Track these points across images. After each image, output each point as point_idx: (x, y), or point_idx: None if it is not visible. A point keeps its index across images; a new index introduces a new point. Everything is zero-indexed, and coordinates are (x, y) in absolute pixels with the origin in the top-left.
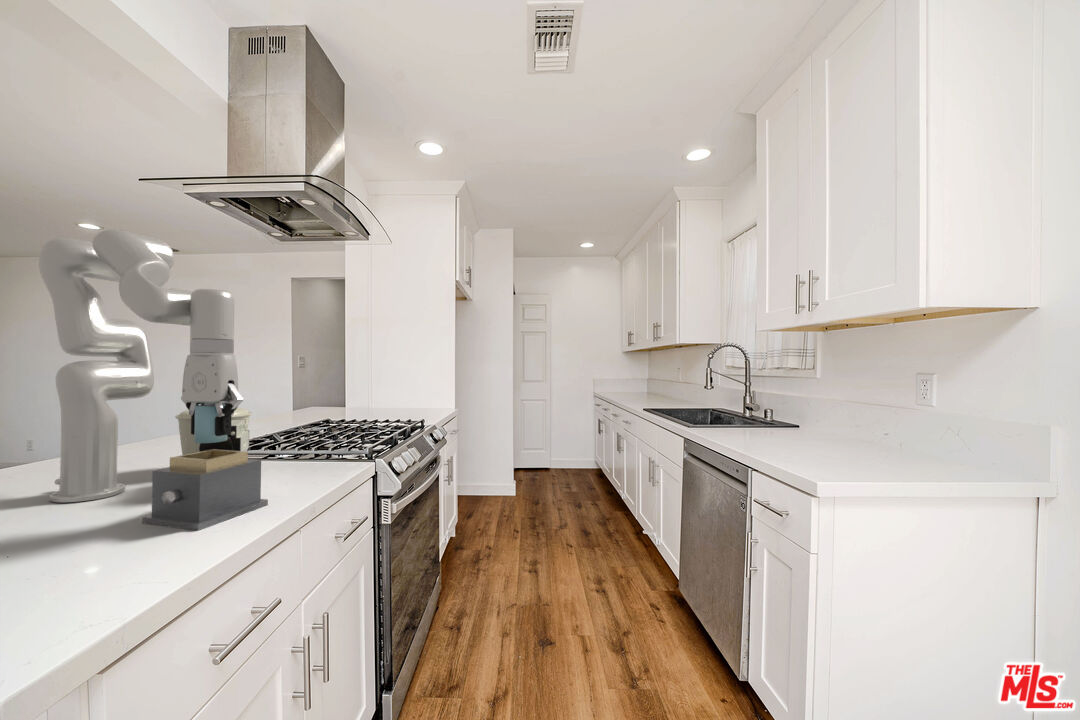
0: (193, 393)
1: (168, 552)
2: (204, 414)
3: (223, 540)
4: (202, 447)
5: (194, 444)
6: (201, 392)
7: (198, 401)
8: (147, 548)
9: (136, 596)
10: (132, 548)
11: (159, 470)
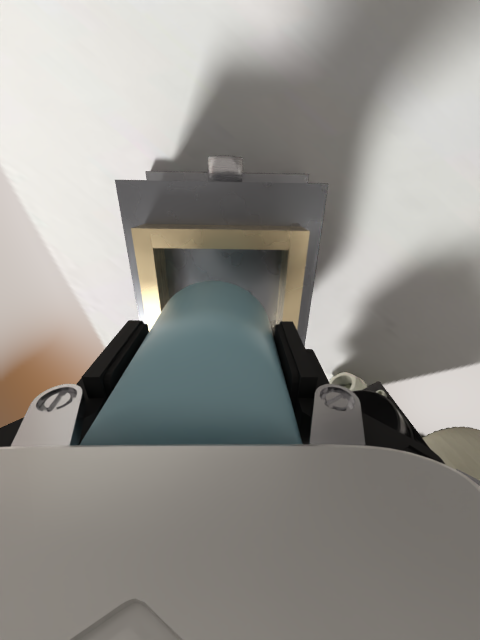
0: (269, 573)
1: (71, 35)
2: (151, 362)
3: (43, 139)
4: (387, 410)
5: None
6: (53, 612)
7: (183, 445)
8: (139, 41)
9: None
10: (170, 29)
11: (306, 192)
